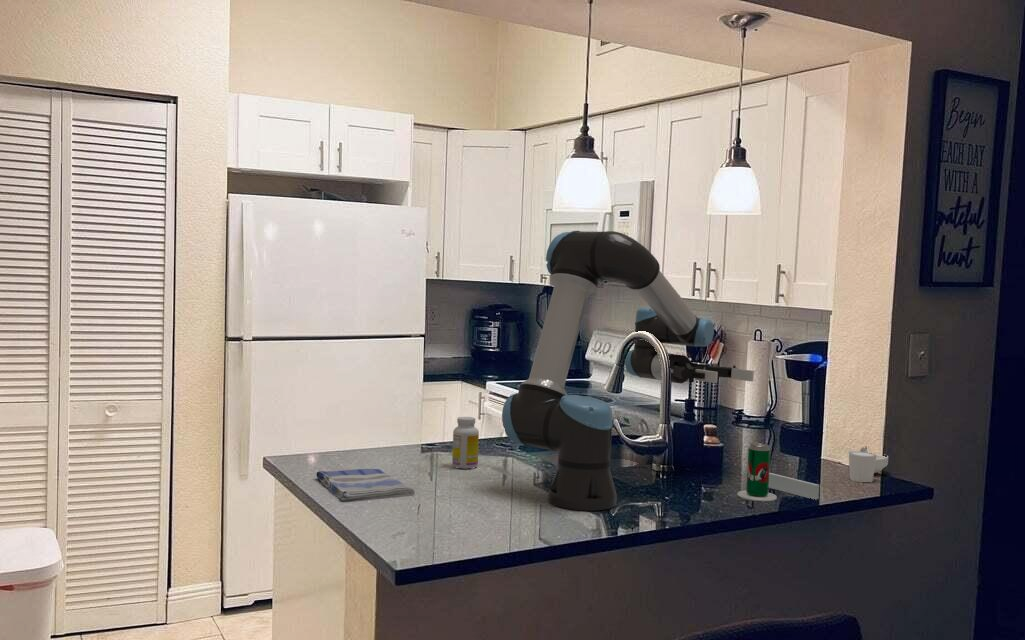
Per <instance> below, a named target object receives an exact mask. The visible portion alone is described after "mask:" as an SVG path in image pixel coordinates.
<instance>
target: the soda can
mask: <svg viewBox="0 0 1025 640" xmlns="http://www.w3.org/2000/svg"><path fill="white" fill-rule="evenodd" d="M749 445H750V446H748V448H747V468H746V469H747V470H746V489H745V490H746V492H747V493H748V495H750V496H755V497H765V496H767V495H768V493H769V489H770V488H769V473H770V469H771V468H770V465H771V449H770V445H769V444H766V443H761V442H752V443H750V444H749Z"/></svg>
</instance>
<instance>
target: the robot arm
mask: <svg viewBox="0 0 1025 640" xmlns="http://www.w3.org/2000/svg"><path fill="white" fill-rule="evenodd" d="M545 261H546V262H547V263H546V269H547V271H548V272H547V273H549V274H550V277H549V278H550V281H551V283H552V285H553V290H552V293H551V296H550V297H551V298H550V301H549V304H548V308H547V312H546V315H545V318H544V322H543V326H542V330H541V333H540V336H539V341H538V343H537V348H536V351H535V354H534V358H533V362H532V365H531V370H530V374H529V378H527V379H526V380H525V381H523V382H521V383H520V386H519V388H518V391H517V392H515V393H513V394H510V395H509V396H508V398H506V400H505V402H504V404H503V407H502V413H501V420H502V423H501V424H502V428H503V429H504V433H505V435H506V436H507V438H508V439H509V440H511V441H512V443H513V442H514V443H515V444H519V445H523V446H524V447H525V446H526V447H528V448H529V447H530V448H531V447H532V448H538V449H543V450H544V449H545V450H549V451H554V452H557V453H558V454H557V455H558V456H557V457H558V458H557V459H558V460H557V468H556V471H555V474H554V476H553V480H552V482H551V484H550V487H549V491H548V502H549V503H550V504H552V505H554V506H556V507H559V508H563V509H567V510H575V511H593V512H594V511H604V510H608V509H612V508H614V507H616V506H617V499H618V498H617V496H618V495H617V490H616V487H615V483H614V480H613V476H612V472H611V453H612V452H611V451H612V435H613V434H612V433H613V432H612V431H613V430H612V429H613V426H614V425H613V424H614V423H613V412H612V411H613V410H612V408H611V406H610V405H609V403H608V402H606V401H603V400H601V399H599V398H595V397H592V396H587V395H585V396H583V395H580V394H579V395H578V394H567V392H566V390H565V386H566V381H567V378H568V374H569V369H570V366H571V363H572V359H573V356H574V355H573V354H574V351H575V348H576V342H577V339H578V336H579V333H580V332H579V331H580V329H581V325H582V320H583V317H584V314H585V310H586V306H587V302H588V298H589V296H590V295H591V294H593V293H596V292H597V289H598V286H599V281H601V280H602V281H603V280H604V281H616V282H620V283H623V284H624V285H625V286H626V287H627V288H628V289H630V290H633V291H636V292H637V293H638V294H639V295H640V297H641V298H642V299H643V301H644V302H645V303H646V304H647V305H648V306H649V307H639V308H637V310H636V315H635V322H634V333H635V332H638V331H646V332H649V333H651V334H653V335H654V336H655V337H656V338H657V339H658V340H659V341H660V342H661V343H662V344H667V345H668V344H669V345H670V344H671V345H680V346H688V347H689V346H690V347H695V348H696V347H708V346H710V344H711V343H712V341H713V339H714V335H715V327H714V324H713V322H712V320H710V319H708V318H704V317H697V315H696V314H695V312H694V311H693V310H692V309H691V308H690V307H689V305H688V304H687V303H686V302H685V300H684V299H683V298H682V297H681V296H680V294H679V293H678V292H677V290H676V289H675V288H674V286H673V285H672V284H671V283H670V281H669V280H668V279H667V278H666V277H665V275H664V273H662V271H661V269H660V268H661V266H660V263H659V261H658V260H657V258H656V257H655V256H654V254H653V253H651V251H650V250H649V249H648V248H647V247H646V246H644V245H643V244H642V243H640V242H639V241H637V240H636V239H634V238H633V237H630V236H629V235H626V234H624V233H621V232H618V231H614V230H607V231H606V230H605V231H582V230H581V231H580V230H572V231H565V232H562V233H559V234H557V235H556V236H554V238H553V239H552V240H551V242H550V243H549V245H548V248H547V250H546V255H545ZM666 353H667V354H668V356H669V360H670V368H671V383H673V384H674V383H676V384H684V383H686V382H687V381H688V383H695V381H699V382H705V383H713V384H718V378H726V379H727V378H729V379H731V380H738V381H745V382H746V381H747V382H754V376H755V373H754V372H755V370H750V369H742V368H738V367H736V365H733V366H732V367H731V366H729V367H728V366H719V365H717V366H714V365H708V364H704V363H703V364H701V363H698V362H692V361H691V359H690V358H689V357H688V356H686V355H684V354H675V353H671V352H666ZM627 354H628V355H627ZM627 354H626V357H625V358H626V359H625V358H624V367H625V371H626V372H627V373H628V374H630V375H631V376H636V377H638V378H644V379H649V380H650V379H651V380H656V381H657V380H658V381H662V376H661V364H660V361H659V357H658V354H657V352H656V351H655V349H654V347H653V346H652V345H651V344H650V343H649V342H647V341H645V340H638V341H637V342H635V341H634V346H633V349H631V350H629V351H628V353H627Z"/></svg>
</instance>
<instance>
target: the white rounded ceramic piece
mask: <svg viewBox="0 0 1025 640" xmlns="http://www.w3.org/2000/svg"><path fill="white" fill-rule="evenodd" d="M864 447H865V448H864ZM849 452H867V453H868V451H867V446H863V447H861V449H860V451H856V450H848V453H847V454H849ZM871 454H872V453H871ZM888 464H889V455H887V457H885V456H876V463H875V469H874V474H878V473H879V472H881V471H882V470H883V469H884V468H885V467H887V466H888Z"/></svg>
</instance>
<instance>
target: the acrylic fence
mask: <svg viewBox="0 0 1025 640" xmlns="http://www.w3.org/2000/svg"><path fill="white" fill-rule="evenodd" d="M769 489H773V490H777V491H780V492H784V493H787V494H791V495H795V496H798V497H799V496H800V497H803V498H806V499H810V498H811V500H814V499H815V500H814V501H818V500H819V497H820V484H818V483H813V482H809V481H805V480H800V479H797V478H793V477H789V476H784V475H780V474H777V473H772V472H769ZM817 499H818V500H817Z"/></svg>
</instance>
